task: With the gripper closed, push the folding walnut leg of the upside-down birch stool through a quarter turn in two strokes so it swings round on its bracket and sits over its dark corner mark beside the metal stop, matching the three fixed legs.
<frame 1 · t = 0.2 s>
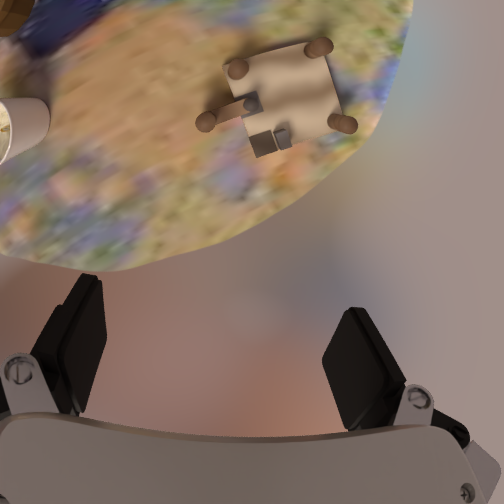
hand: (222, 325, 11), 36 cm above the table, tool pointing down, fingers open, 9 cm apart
hinged leg: (227, 113, 36), point 5 cm above the table, hinge at -90.0°
stool: (284, 96, 40), on the table
white paper cup: (31, 122, 36), on the table
flowerpot: (13, 11, 25), on the table
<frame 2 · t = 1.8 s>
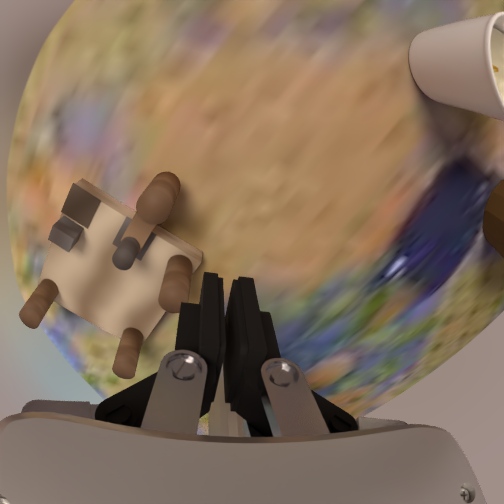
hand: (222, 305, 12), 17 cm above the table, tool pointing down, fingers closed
hinged leg: (142, 224, 23), point 5 cm above the table, hinge at -90.0°
stool: (112, 267, 30), on the table
white paper cup: (437, 66, 23), on the table
flowerpot: (503, 211, 32), on the table
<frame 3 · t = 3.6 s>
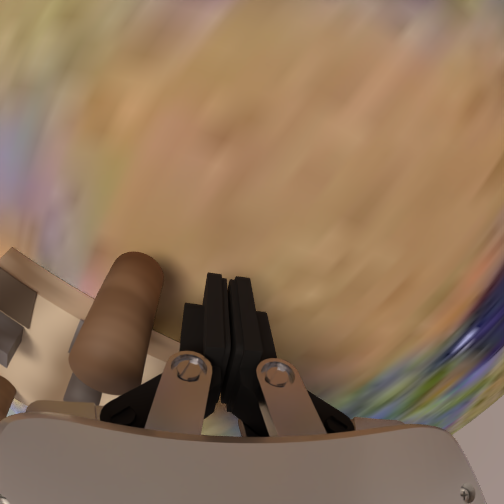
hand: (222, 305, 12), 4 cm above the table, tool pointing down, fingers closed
hinged leg: (100, 357, 11), point 5 cm above the table, hinge at -89.5°, touching gripper
stool: (79, 367, 18), on the table
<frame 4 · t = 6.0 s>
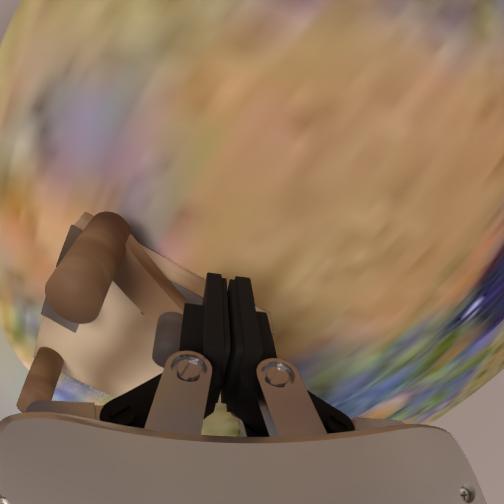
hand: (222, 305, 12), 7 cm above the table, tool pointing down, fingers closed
hinged leg: (131, 304, 14), point 5 cm above the table, hinge at -24.5°
stool: (137, 332, 21), on the table
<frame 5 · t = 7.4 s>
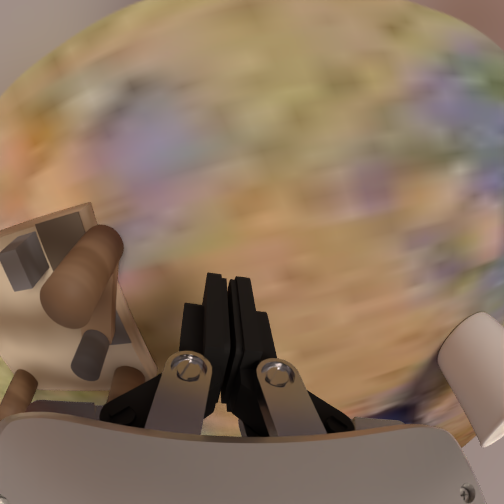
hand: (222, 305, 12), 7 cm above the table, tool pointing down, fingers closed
hinged leg: (86, 317, 14), point 5 cm above the table, hinge at -24.5°
stool: (48, 310, 19), on the table
white paper cup: (463, 339, 27), on the table
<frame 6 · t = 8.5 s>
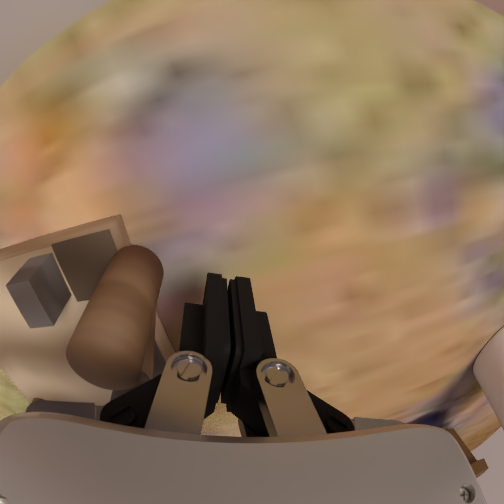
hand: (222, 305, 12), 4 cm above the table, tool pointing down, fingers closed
hinged leg: (124, 361, 11), point 5 cm above the table, hinge at -22.0°, touching gripper
stool: (68, 337, 17), on the table
white paper cup: (497, 346, 24), on the table
flowerpot: (426, 445, 35), on the table
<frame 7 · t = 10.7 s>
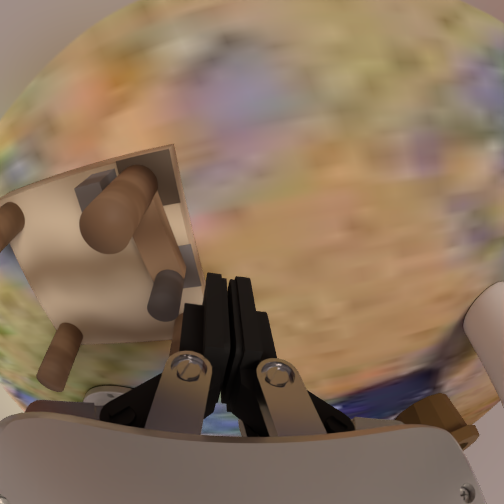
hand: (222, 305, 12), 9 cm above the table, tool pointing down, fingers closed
hinged leg: (144, 252, 15), point 5 cm above the table, hinge at 5.6°
stool: (106, 257, 21), on the table
white paper cup: (486, 307, 28), on the table
flowerpot: (420, 409, 40), on the table
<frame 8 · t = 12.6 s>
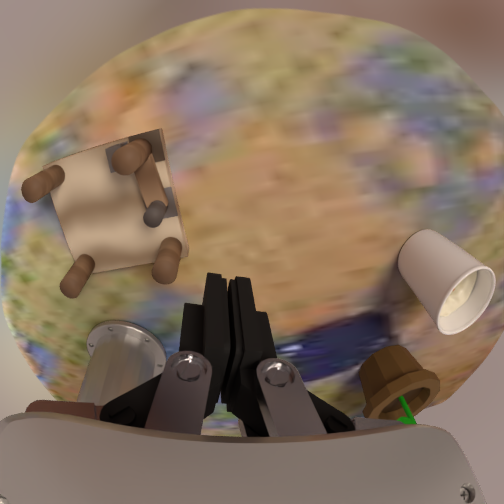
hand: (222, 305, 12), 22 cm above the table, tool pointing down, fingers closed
hinged leg: (143, 183, 26), point 5 cm above the table, hinge at 5.6°
stool: (116, 204, 32), on the table
white paper cup: (419, 254, 39), on the table
flowerpot: (383, 363, 50), on the table
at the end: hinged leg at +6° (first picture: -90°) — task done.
